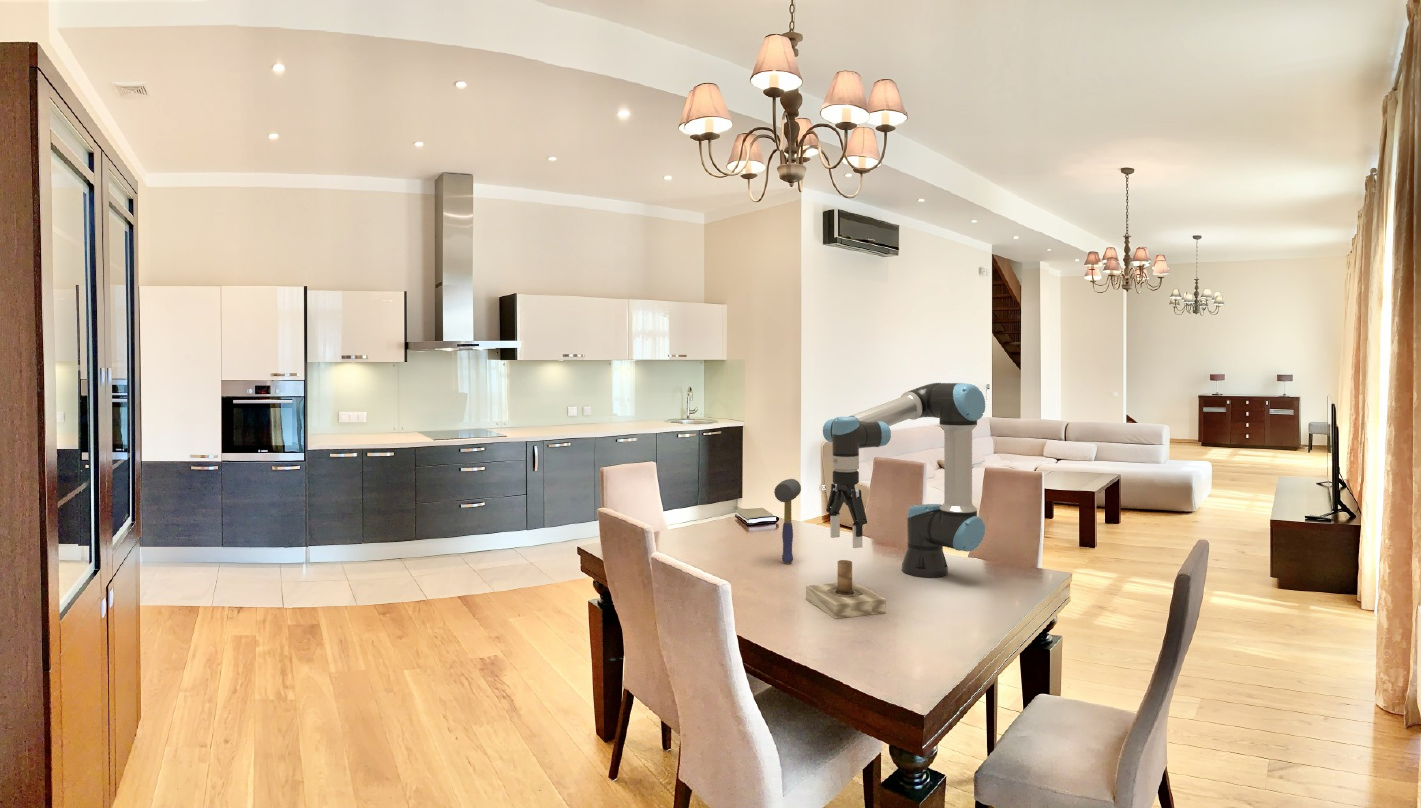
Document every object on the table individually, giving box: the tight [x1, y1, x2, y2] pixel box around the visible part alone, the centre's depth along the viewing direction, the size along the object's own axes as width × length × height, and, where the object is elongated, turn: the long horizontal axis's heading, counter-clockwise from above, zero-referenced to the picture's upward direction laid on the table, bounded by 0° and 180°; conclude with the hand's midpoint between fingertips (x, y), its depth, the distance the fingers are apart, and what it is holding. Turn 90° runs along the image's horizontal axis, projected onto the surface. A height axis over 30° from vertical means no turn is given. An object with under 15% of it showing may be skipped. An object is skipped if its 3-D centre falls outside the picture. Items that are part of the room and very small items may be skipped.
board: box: [805, 580, 887, 619], centre depth 223 cm, size 16×19×4 cm
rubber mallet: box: [773, 478, 802, 565], centre depth 271 cm, size 12×8×30 cm, turn 159°
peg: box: [836, 559, 853, 595], centre depth 222 cm, size 4×4×13 cm
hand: (846, 542), depth 222 cm, fingers open, 13 cm apart
